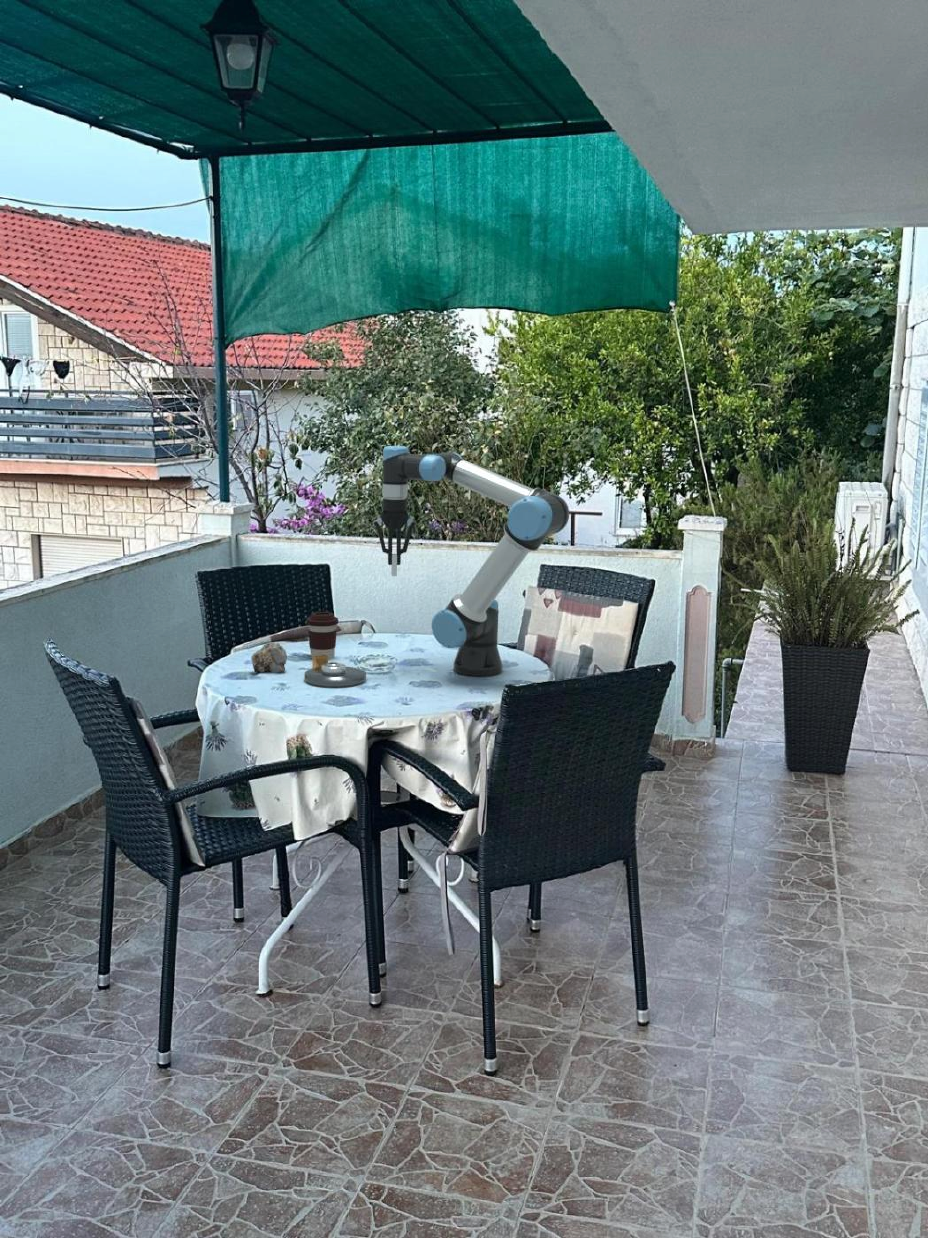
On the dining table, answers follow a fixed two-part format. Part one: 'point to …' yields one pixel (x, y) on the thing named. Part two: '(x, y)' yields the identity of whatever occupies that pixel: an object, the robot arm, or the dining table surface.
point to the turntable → (319, 680)
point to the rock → (269, 658)
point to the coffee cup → (322, 634)
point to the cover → (333, 669)
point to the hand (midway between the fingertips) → (394, 575)
